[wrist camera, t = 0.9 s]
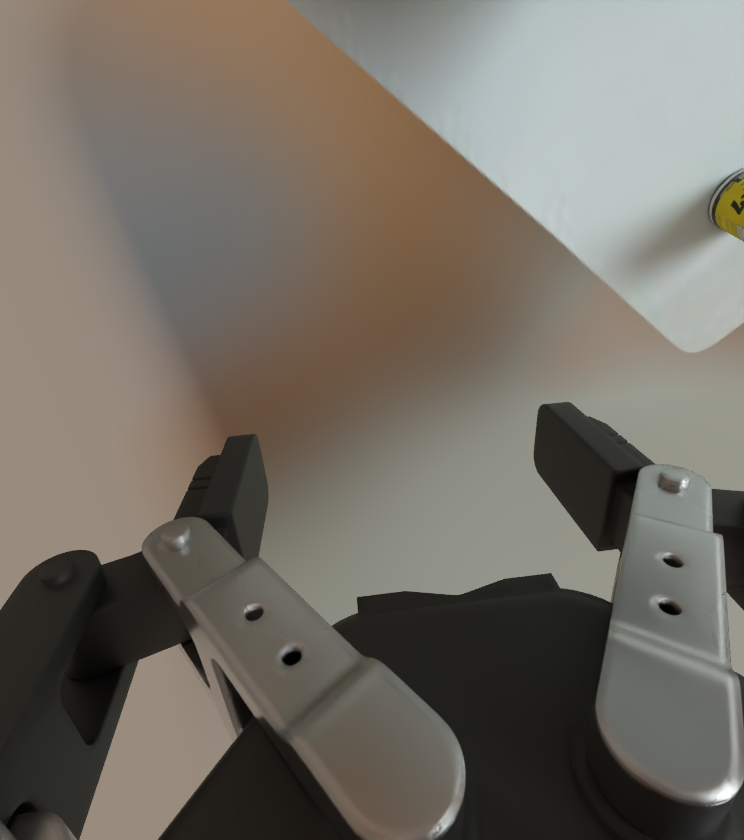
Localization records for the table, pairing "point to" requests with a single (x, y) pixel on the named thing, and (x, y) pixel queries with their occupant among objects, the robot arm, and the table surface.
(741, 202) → the supplement bottle
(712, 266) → the table surface
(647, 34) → the table surface
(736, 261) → the table surface
